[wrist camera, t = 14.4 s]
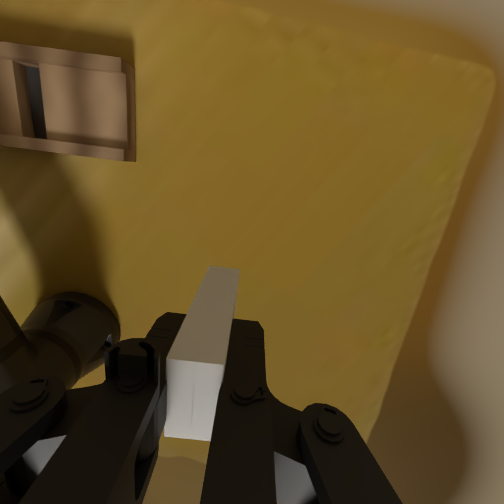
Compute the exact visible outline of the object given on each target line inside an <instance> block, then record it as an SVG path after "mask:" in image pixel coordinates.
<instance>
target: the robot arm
mask: <svg viewBox="0 0 504 504" xmlns="http://www.w3.org/2000/svg"><path fill="white" fill-rule="evenodd" d="M239 271H240V269H232V268H224V267H215V266H209V268H208V270H207V272H206V274H205V276H204V278H203V281H202V283H201V285H200V287H199V289H198V291H197V293H196V296H195V298H194V300H193V302H192V304H191V306H190V308H189V311H188V313H187V314H180V313H171V312H167V313H165V314H164V315H162V316H161V317H159V318H158V319H157V320H156V321H155V323H154V324H153V326H152V328H151V329H150V331H149V332H148V334H147V336H146V337H145V338H131V339H127V340H122V341H120V342H119V340H120V329H119V325H118V323H117V320H116V318H115V317H114V315H113V314H112V312H111V311H110V310H109V309H108V308H107V307H106V306H105V305H104V304H102V303H101V302H100V301H98V300H97V299H95V298H93V297H91V296H88V295H85V294H82V293H77V292H63V293H58V294H55V295H53V296H51V297H49V298H48V299H46V300H44V301H43V302H41V303H40V304H39V305H37V306H36V307H35V308H34V309H33V311H32V312H31V313H30V315H29V316H28V317H27V319H26V320H25V322H24V323H23V324H22V326H21V327H20V326H19V325H18V323H17V322H16V320H15V318H14V317H13V315H12V314H11V312H10V311H9V309H8V307H7V306H6V304H5V303H4V301H3V299H2V298H1V296H0V504H142V502H143V499H144V496H145V493H146V491H147V487H148V485H149V482H150V479H151V476H152V473H153V469H154V467H155V464H156V461H157V457H158V450H159V439H160V436H161V433H162V431H163V428H164V436H165V437H175V438H185V439H195V440H205V441H210V447H209V453H208V459H207V465H206V471H205V477H204V482H203V489H202V494H201V500H200V504H277V503H279V504H402V502H401V500H400V499H399V497H398V495H397V494H396V492H395V491H394V489H393V487H392V486H391V484H390V483H389V481H388V479H387V478H386V476H385V474H384V473H383V471H382V470H381V468H380V466H379V465H378V463H377V461H376V460H375V458H374V457H373V455H372V453H371V452H370V450H369V449H368V447H367V445H366V444H365V442H364V440H363V439H362V437H361V436H360V434H359V432H358V431H357V429H356V427H355V426H354V424H353V423H352V422H351V421H350V419H349V418H348V417H347V416H346V415H345V414H344V413H343V412H341V411H340V410H338V409H337V408H335V407H333V406H330V405H328V404H322V403H315V404H312V405H308V406H307V407H306V408H305V409H304V410H303V411H299V410H297V409H294V408H292V407H289V406H287V405H285V404H283V403H281V402H280V401H279V400H278V399H276V398H275V397H274V396H273V395H272V393H271V392H270V391H269V389H268V387H267V383H266V369H265V349H264V330H263V328H262V327H261V325H260V324H259V322H258V321H250V320H241V319H234V314H235V306H236V297H237V288H238V280H239ZM103 363H105V376H106V380H105V381H104V382H103V383H101V384H98V385H94V386H89V387H83V388H76V389H71V388H72V387H73V386H74V384H75V383H76V382H77V381H78V380H79V379H80V378H82V377H84V376H85V375H87V374H88V373H90V372H91V371H93V370H94V369H96V368H98V367H99V366H101V365H102V364H103ZM164 425H165V427H164Z"/></svg>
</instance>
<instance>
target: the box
mask: <svg viewBox="0 0 504 504" xmlns="http://www.w3.org/2000/svg"><path fill="white" fill-rule="evenodd" d="M0 146H8V147H16V148H24V149H31V150H39V151H47V152H55V153H63V154H71V155H79V156H87V157H95V158H103V159H111V160H118V161H132V162H136V128H135V68H133V67H132V66H131V65H130V64H128V63H127V62H126V61H125V60H123V59H122V58H121V57H113V56H106V55H99V54H91V53H84V52H76V51H69V50H62V49H54V48H47V47H40V46H32V45H25V44H18V43H10V42H3V41H0Z"/></svg>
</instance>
